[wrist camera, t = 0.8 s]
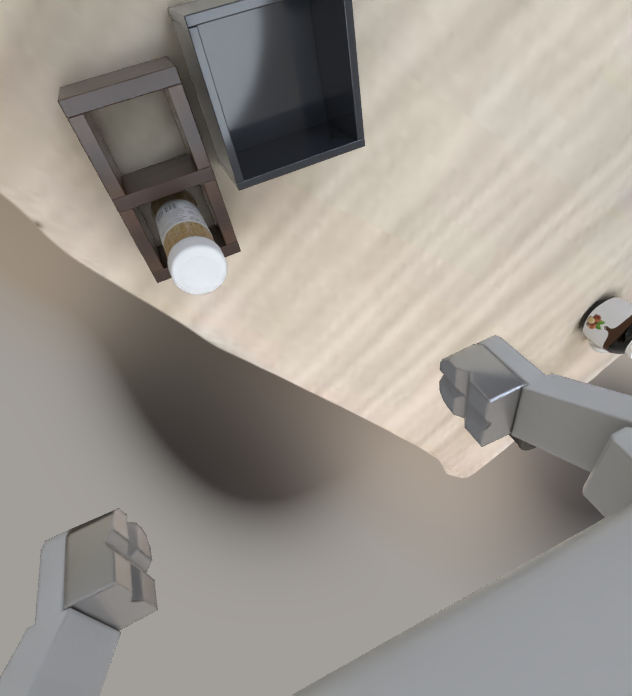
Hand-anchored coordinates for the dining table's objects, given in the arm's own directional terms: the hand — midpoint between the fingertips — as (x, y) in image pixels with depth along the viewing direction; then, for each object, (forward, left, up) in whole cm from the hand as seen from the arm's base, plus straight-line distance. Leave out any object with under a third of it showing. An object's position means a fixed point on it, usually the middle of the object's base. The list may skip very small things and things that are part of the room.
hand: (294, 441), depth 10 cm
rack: (+6, -1, -39) cm, 39 cm away
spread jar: (+62, +72, -39) cm, 103 cm away
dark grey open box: (+1, +11, -39) cm, 40 cm away
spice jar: (+10, -1, -39) cm, 40 cm away
